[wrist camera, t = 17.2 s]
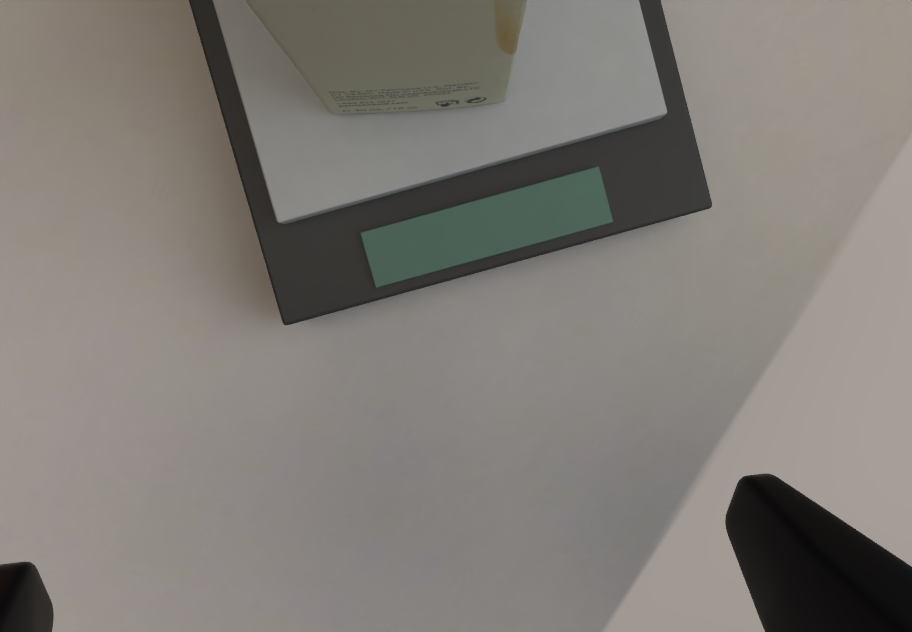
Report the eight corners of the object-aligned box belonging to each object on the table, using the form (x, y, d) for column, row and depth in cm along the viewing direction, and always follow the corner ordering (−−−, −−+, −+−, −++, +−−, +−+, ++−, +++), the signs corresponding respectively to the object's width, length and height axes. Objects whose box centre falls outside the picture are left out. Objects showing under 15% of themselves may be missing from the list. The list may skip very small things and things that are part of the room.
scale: (686, 214, 20) (722, 205, 17) (302, 320, 20) (277, 328, 18) (570, -241, 19) (588, -327, 17) (173, -124, 20) (125, -190, 17)
